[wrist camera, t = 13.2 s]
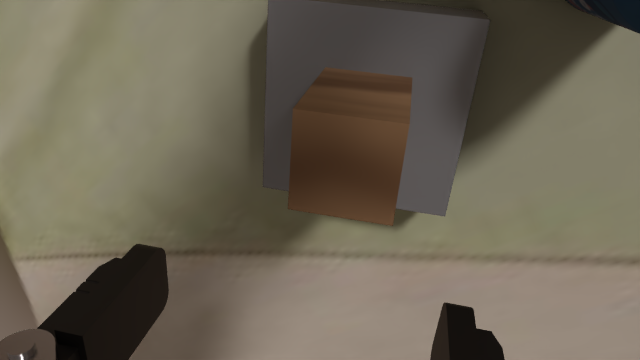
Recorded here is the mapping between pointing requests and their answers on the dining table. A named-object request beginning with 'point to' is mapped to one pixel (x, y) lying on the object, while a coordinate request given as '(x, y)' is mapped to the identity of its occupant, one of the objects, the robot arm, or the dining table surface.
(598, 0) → the soda can
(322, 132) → the walnut block
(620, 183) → the dining table surface
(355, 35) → the slate base
